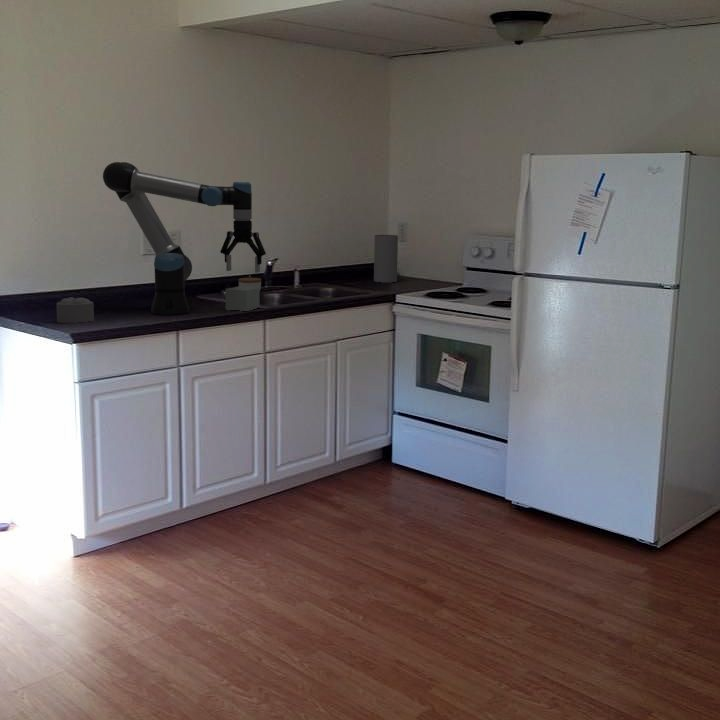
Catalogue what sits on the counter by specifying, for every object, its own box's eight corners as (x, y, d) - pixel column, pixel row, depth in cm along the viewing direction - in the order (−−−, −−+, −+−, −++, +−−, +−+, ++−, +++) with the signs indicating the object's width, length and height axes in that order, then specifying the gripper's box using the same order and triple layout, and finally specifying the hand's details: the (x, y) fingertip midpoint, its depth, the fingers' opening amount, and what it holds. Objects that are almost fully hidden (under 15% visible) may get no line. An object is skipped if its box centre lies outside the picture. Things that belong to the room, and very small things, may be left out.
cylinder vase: (401, 282, 489) (402, 235, 484) (386, 283, 480) (387, 236, 475) (384, 280, 497) (385, 234, 492) (369, 281, 488) (369, 235, 483)
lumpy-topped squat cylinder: (96, 321, 340) (95, 298, 338) (62, 324, 332) (61, 301, 330) (86, 318, 348) (85, 295, 346) (52, 320, 340) (51, 298, 338)
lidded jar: (234, 296, 420) (234, 275, 418) (245, 293, 429) (245, 273, 428) (254, 297, 416) (254, 277, 414) (265, 294, 426) (265, 275, 424)
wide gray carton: (246, 311, 370) (246, 290, 368) (225, 310, 374) (225, 289, 372) (259, 308, 379) (259, 288, 377) (238, 307, 383) (238, 286, 381)
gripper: (273, 220, 369) (273, 272, 374) (221, 218, 379) (221, 269, 383) (265, 221, 363) (265, 273, 367) (211, 219, 372) (212, 270, 376)
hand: (243, 271), depth 375 cm, fingers open, 13 cm apart
